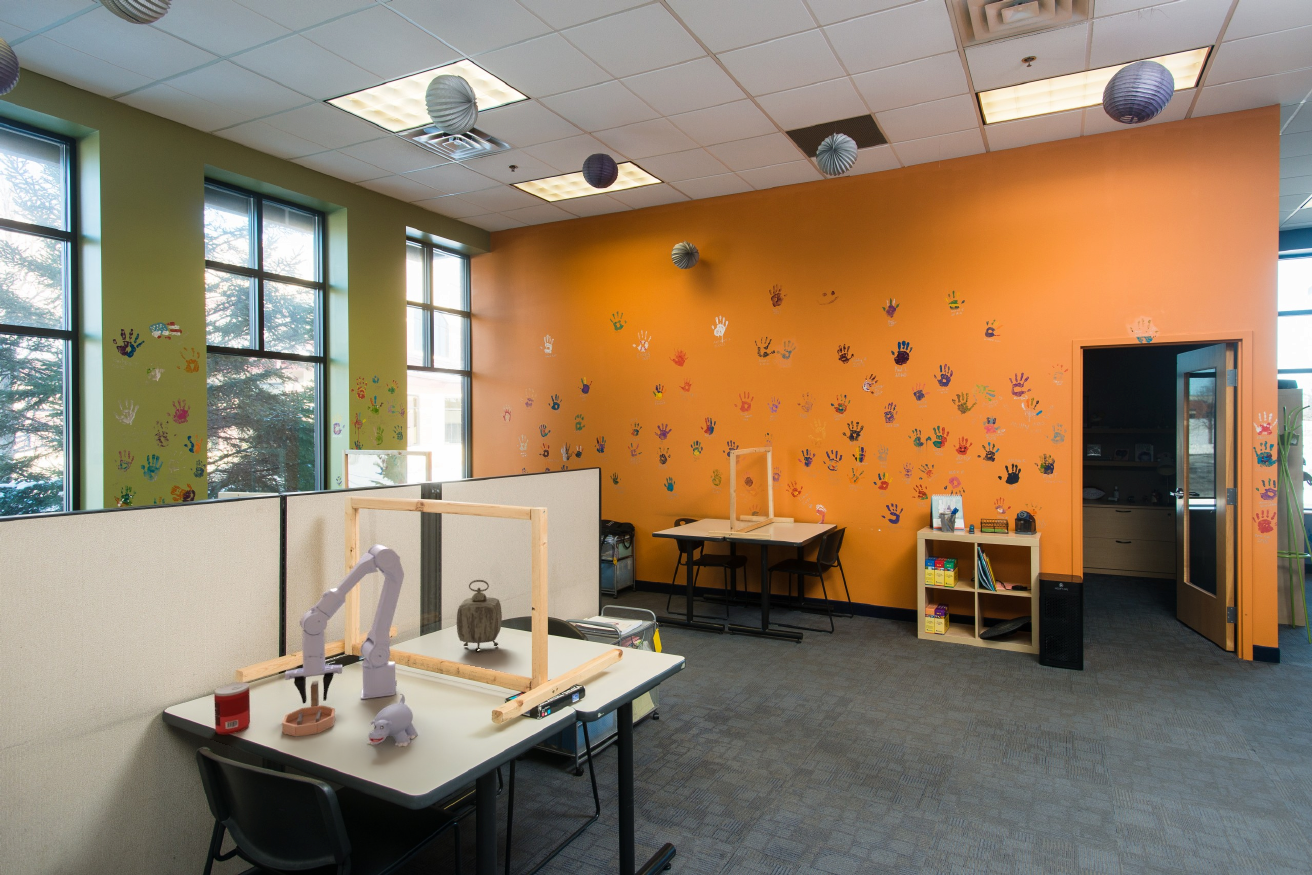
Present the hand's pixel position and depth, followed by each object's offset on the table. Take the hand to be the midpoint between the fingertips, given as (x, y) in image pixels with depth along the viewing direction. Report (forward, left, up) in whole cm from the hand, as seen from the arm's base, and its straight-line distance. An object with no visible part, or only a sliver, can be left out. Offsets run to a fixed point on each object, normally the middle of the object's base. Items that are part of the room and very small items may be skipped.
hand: (314, 700), depth 198 cm
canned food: (+19, +7, -2) cm, 20 cm away
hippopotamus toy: (-21, +30, -2) cm, 36 cm away
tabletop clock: (-49, -33, -2) cm, 59 cm away
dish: (0, +12, -2) cm, 12 cm away
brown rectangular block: (0, 0, -2) cm, 2 cm away
